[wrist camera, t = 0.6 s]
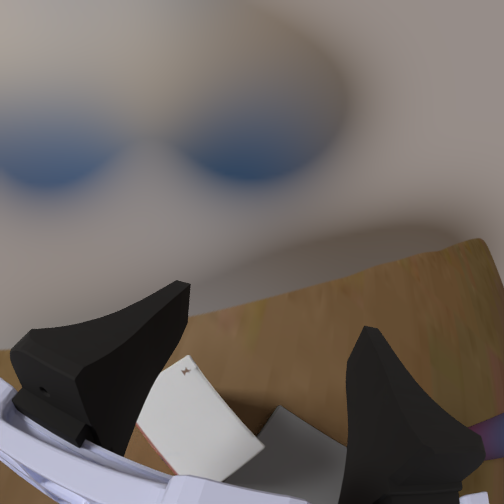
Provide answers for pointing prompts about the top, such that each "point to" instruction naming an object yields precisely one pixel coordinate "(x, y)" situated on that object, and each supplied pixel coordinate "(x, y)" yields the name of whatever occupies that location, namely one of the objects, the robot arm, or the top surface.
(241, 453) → the small box
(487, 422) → the cup
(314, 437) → the display mat
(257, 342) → the top surface
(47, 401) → the robot arm
